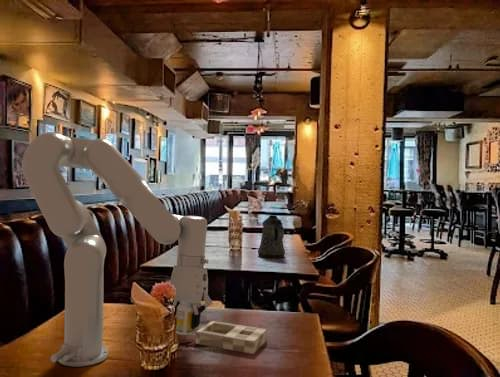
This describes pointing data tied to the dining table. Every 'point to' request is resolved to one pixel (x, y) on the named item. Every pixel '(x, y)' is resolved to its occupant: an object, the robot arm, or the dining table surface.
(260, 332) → the socket block
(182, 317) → the supplement bottle
